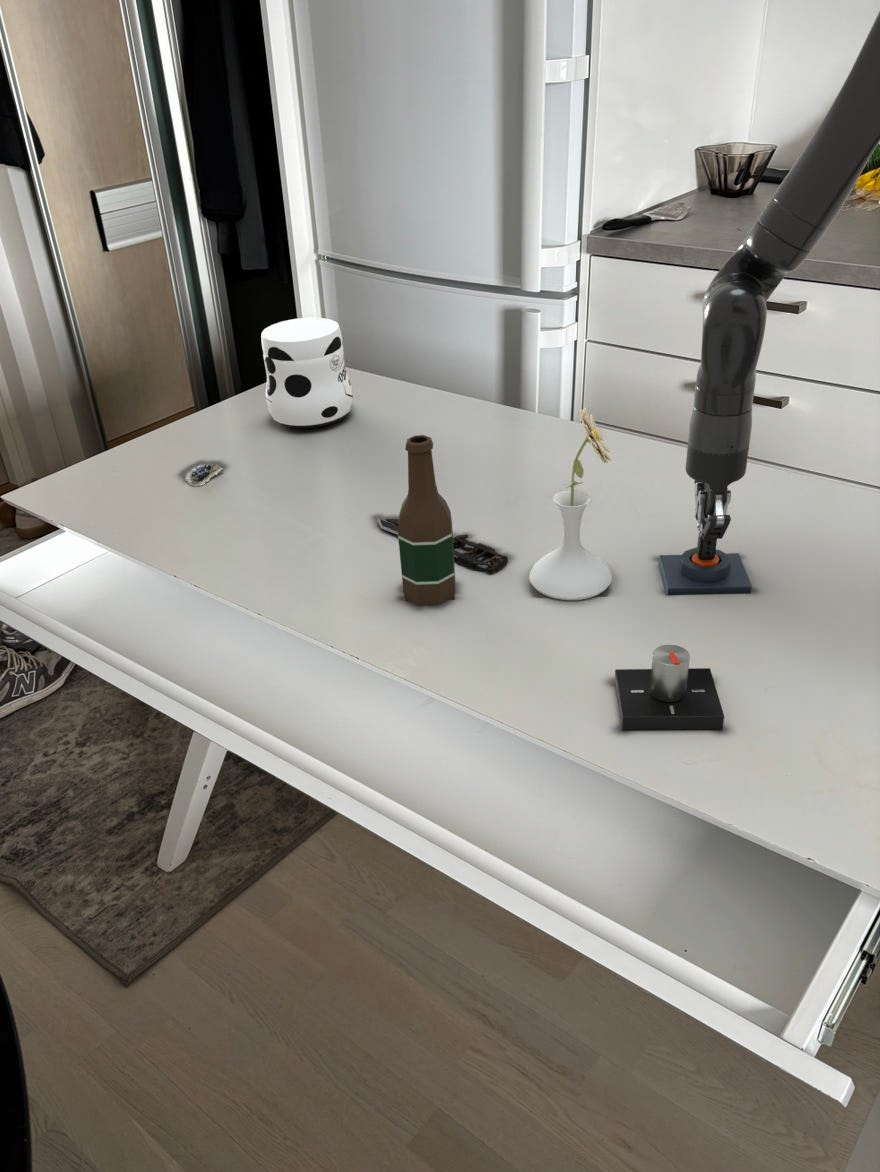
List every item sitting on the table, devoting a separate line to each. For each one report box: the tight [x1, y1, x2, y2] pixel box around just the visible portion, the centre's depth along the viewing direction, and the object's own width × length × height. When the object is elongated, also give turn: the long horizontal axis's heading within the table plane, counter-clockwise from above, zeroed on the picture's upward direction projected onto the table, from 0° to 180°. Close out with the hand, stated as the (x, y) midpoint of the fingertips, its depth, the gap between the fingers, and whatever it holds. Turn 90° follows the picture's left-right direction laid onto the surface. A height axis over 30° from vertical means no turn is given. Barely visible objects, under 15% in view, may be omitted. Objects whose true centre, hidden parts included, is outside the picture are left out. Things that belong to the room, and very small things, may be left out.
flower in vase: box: [529, 407, 613, 601], centre depth 131 cm, size 13×11×25 cm
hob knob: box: [650, 644, 691, 702], centre depth 111 cm, size 4×4×6 cm
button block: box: [658, 547, 753, 596], centre depth 135 cm, size 11×9×4 cm
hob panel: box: [614, 667, 725, 732], centre depth 113 cm, size 11×9×3 cm
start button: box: [692, 553, 719, 567], centre depth 135 cm, size 4×4×2 cm
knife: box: [377, 518, 509, 574], centre depth 151 cm, size 25×6×1 cm, turn 41°
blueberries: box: [184, 463, 224, 487], centre depth 178 cm, size 7×8×2 cm
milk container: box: [260, 317, 354, 429], centre depth 193 cm, size 17×17×18 cm
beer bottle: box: [397, 434, 456, 607], centre depth 132 cm, size 8×8×24 cm
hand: (705, 557), depth 135 cm, fingers closed
